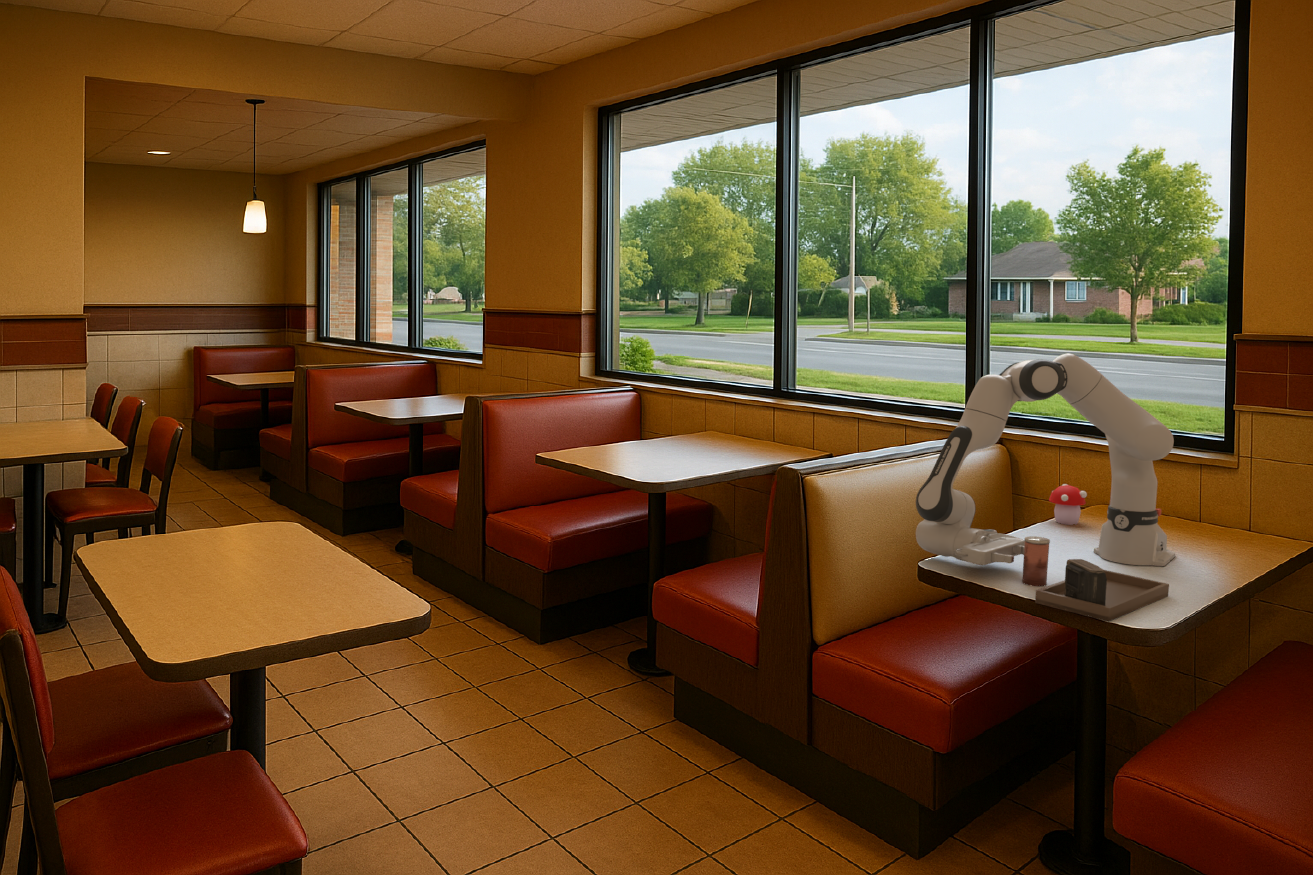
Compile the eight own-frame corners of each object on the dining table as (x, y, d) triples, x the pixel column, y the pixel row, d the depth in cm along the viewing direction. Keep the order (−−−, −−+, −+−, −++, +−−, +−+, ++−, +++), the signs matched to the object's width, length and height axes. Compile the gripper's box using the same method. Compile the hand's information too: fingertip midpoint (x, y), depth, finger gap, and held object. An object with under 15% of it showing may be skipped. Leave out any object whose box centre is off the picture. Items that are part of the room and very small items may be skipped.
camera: (1109, 613, 215) (1110, 569, 214) (1084, 614, 215) (1085, 570, 214) (1083, 599, 227) (1084, 557, 225) (1059, 599, 226) (1060, 558, 225)
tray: (1097, 580, 242) (1098, 568, 242) (1168, 596, 229) (1169, 583, 229) (1035, 602, 223) (1035, 590, 223) (1108, 621, 210) (1109, 608, 210)
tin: (1029, 578, 243) (1032, 535, 242) (1051, 583, 239) (1054, 539, 237) (1017, 582, 240) (1020, 538, 238) (1039, 587, 235) (1042, 543, 234)
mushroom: (1085, 527, 300) (1088, 489, 298) (1047, 524, 304) (1049, 486, 302) (1083, 520, 310) (1086, 483, 308) (1046, 517, 314) (1049, 480, 312)
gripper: (950, 539, 245) (1000, 550, 234) (995, 528, 258) (1044, 538, 247) (949, 564, 246) (999, 576, 235) (993, 551, 259) (1042, 562, 248)
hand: (1022, 556), depth 241 cm, fingers open, 8 cm apart
